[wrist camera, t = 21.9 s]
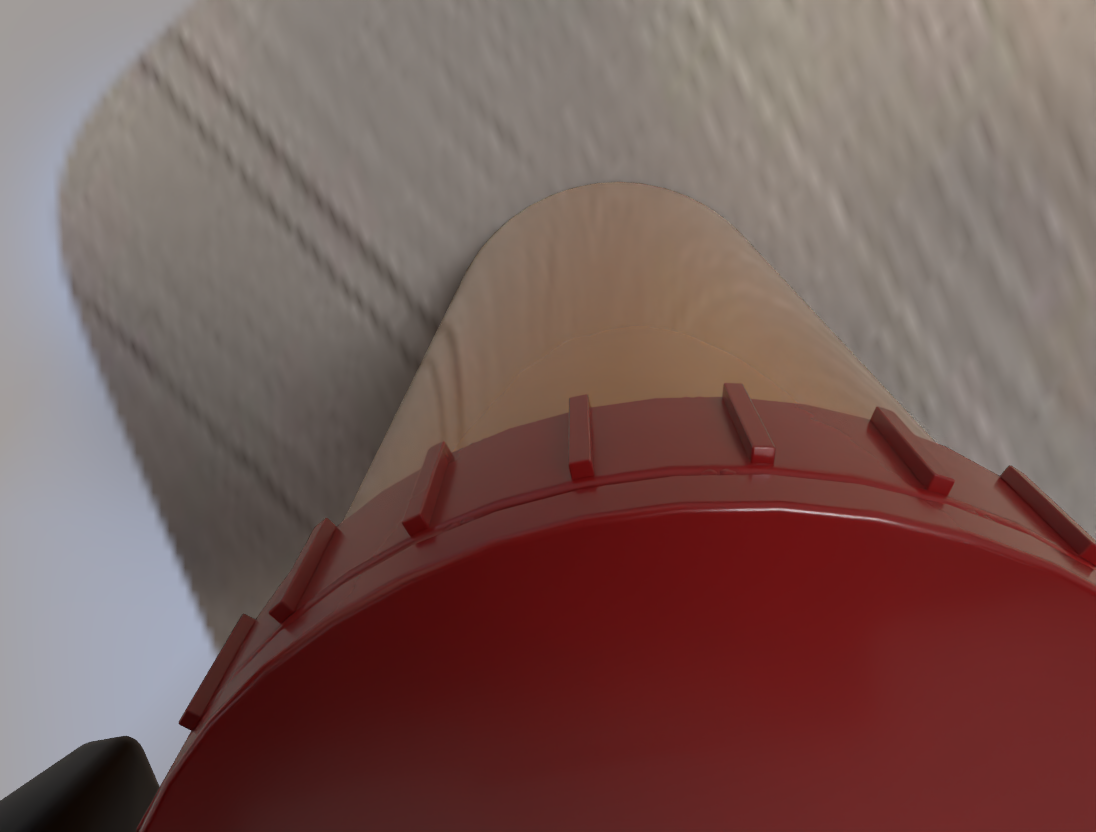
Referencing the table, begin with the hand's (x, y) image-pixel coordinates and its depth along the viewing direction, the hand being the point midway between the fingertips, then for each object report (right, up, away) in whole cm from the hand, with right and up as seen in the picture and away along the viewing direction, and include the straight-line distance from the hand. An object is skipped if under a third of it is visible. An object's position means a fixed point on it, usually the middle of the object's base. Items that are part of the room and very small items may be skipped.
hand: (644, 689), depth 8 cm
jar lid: (0, -1, -3) cm, 3 cm away
